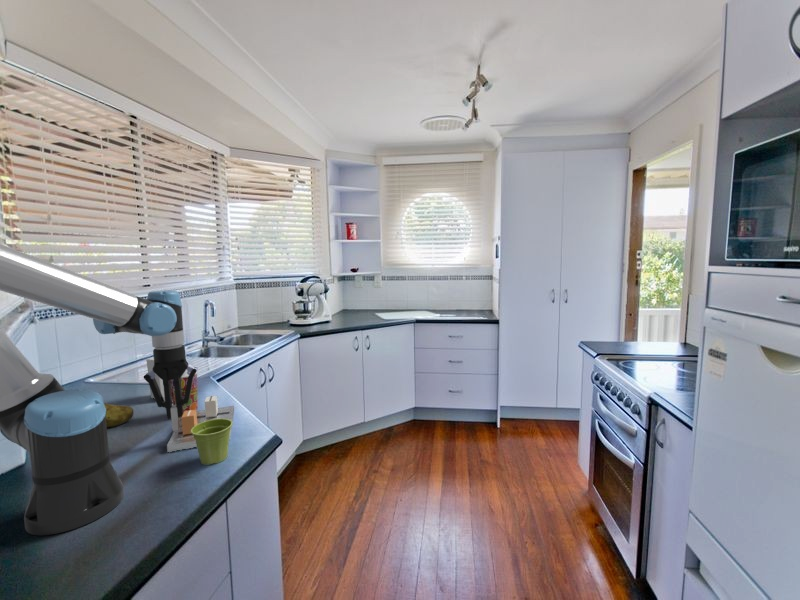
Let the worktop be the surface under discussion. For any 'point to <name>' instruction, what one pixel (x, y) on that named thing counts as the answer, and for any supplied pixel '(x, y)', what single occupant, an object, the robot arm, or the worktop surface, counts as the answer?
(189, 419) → the fader near
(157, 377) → the skincare box
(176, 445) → the console
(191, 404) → the smoothie
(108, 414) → the potato
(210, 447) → the plant pot
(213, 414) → the fader far
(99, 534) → the worktop surface
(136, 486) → the worktop surface
